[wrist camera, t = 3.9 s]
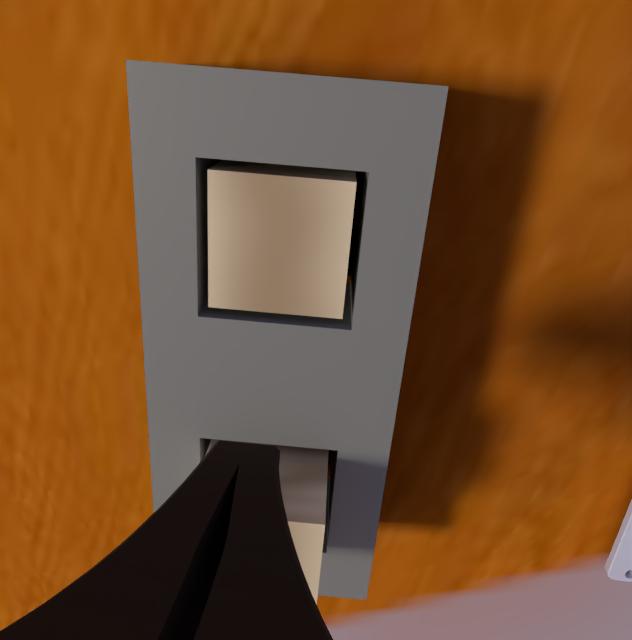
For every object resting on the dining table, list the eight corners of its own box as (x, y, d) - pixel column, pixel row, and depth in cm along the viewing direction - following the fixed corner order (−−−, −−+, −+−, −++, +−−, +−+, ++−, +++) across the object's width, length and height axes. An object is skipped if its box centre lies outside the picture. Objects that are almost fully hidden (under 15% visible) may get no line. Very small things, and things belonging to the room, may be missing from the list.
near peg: (354, 163, 18) (356, 182, 14) (342, 278, 19) (342, 318, 16) (233, 152, 18) (207, 169, 14) (231, 268, 19) (208, 307, 16)
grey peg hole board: (426, 85, 17) (448, 86, 13) (362, 521, 24) (366, 600, 21) (172, 64, 17) (125, 59, 13) (185, 505, 24) (157, 579, 21)
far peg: (328, 446, 19) (325, 524, 15) (319, 533, 20) (315, 621, 17) (212, 435, 19) (184, 511, 15) (213, 523, 20) (187, 609, 17)
